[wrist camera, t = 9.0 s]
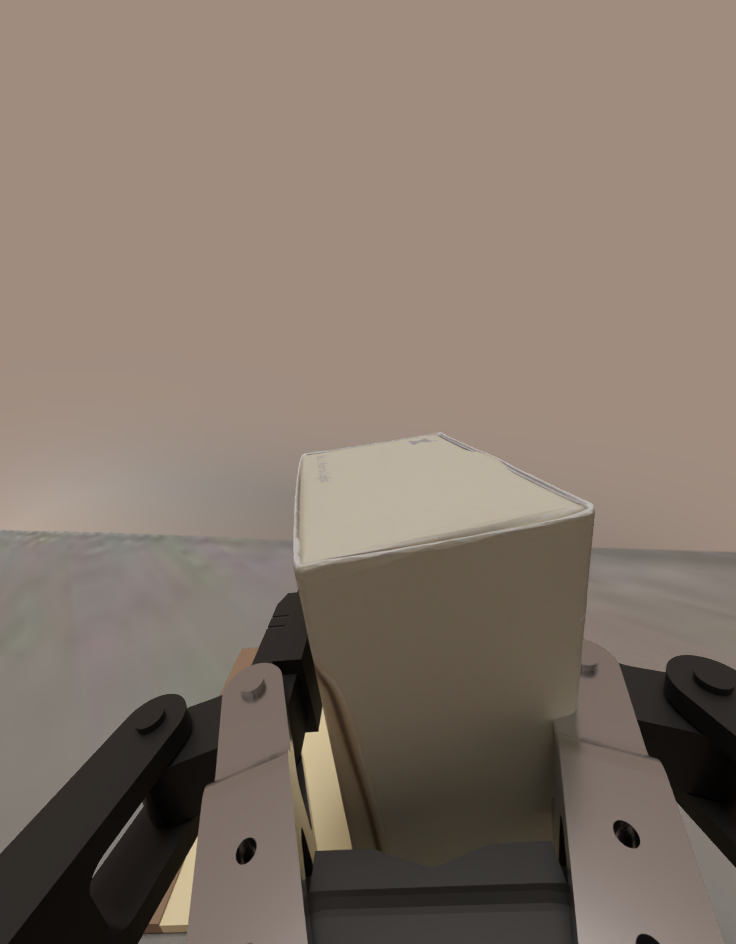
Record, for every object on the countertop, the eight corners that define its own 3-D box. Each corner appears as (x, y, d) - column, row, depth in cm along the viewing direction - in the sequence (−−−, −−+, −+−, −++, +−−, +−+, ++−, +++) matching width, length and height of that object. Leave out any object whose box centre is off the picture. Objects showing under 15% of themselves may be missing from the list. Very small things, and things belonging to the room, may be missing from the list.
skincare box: (355, 753, 14) (294, 452, 10) (463, 724, 14) (440, 427, 11) (391, 1051, 8) (270, 566, 4) (577, 982, 8) (609, 496, 5)
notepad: (466, 635, 21) (465, 628, 20) (556, 921, 10) (556, 911, 10) (244, 655, 22) (242, 648, 21) (115, 934, 11) (109, 925, 11)
